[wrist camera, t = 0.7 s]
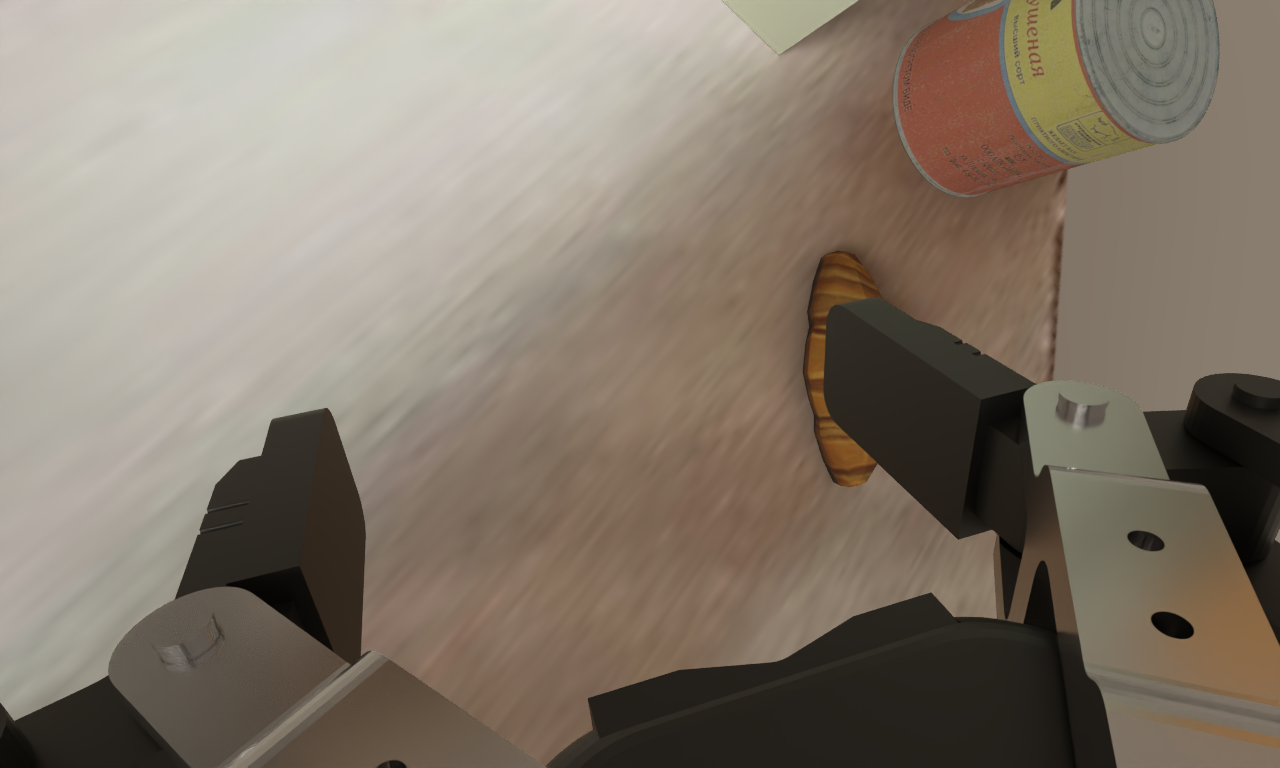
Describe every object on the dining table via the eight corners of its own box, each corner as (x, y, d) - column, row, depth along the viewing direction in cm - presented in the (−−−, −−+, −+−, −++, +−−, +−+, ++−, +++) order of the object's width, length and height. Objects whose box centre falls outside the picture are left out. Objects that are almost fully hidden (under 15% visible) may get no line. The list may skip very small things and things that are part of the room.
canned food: (980, -4, 49) (1177, -116, 38) (1040, 155, 51) (1242, 92, 40) (865, 57, 45) (1049, -49, 34) (937, 226, 47) (1131, 178, 36)
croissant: (881, 477, 45) (947, 487, 41) (790, 491, 42) (849, 504, 38) (869, 254, 45) (934, 240, 40) (777, 253, 42) (835, 237, 37)
